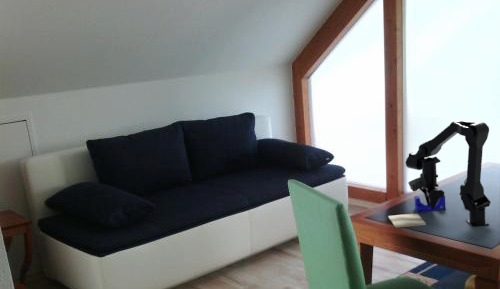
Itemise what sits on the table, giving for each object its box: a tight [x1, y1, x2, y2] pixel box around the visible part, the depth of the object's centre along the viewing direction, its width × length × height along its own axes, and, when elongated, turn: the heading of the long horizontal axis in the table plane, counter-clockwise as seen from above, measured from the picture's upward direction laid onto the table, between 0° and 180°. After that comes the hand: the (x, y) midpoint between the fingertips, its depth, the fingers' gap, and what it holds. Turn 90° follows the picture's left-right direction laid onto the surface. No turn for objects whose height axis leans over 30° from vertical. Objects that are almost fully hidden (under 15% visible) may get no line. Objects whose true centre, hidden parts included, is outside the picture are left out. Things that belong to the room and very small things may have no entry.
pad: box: [387, 212, 427, 229], centre depth 210 cm, size 12×12×1 cm
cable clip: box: [414, 194, 446, 214], centre depth 219 cm, size 12×4×6 cm, turn 86°
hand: (430, 207), depth 219 cm, fingers closed on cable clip, 5 cm apart
